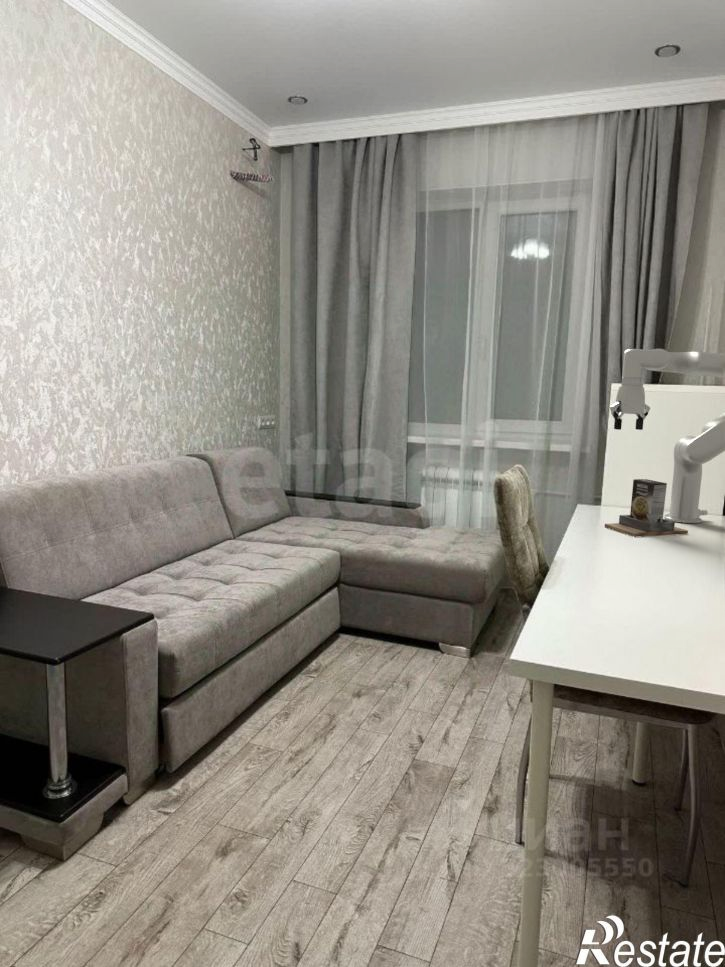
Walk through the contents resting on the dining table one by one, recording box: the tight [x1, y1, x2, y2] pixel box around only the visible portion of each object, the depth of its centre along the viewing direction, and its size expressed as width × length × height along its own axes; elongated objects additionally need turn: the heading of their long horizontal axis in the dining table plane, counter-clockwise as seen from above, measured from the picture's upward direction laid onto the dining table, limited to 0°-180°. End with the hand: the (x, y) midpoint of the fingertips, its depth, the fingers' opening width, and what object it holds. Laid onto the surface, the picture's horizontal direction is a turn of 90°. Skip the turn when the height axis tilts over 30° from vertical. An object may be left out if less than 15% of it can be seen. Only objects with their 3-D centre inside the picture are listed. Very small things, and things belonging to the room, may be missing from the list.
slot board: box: [604, 514, 689, 538], centre depth 225 cm, size 22×15×4 cm
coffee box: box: [629, 478, 668, 523], centre depth 224 cm, size 9×6×16 cm
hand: (628, 429), depth 244 cm, fingers open, 9 cm apart
